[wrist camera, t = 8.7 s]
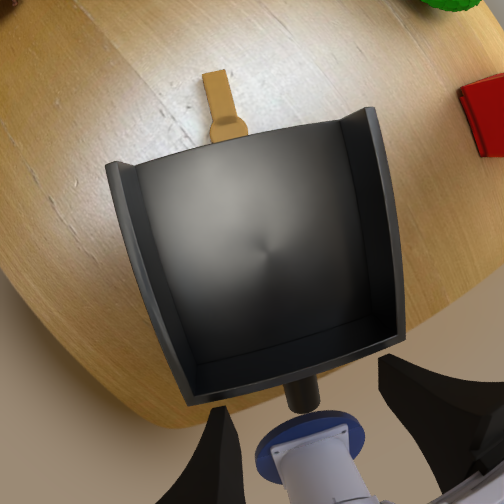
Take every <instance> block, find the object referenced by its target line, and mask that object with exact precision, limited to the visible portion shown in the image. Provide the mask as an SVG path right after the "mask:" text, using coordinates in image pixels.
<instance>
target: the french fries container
mask: <svg viewBox="0 0 504 504" xmlns="http://www.w3.org/2000/svg"><path fill="white" fill-rule="evenodd" d="M460 88H461V90H462V93H463V95H464V96H462V97H459V99H460V101H461V103H462V106H463V108H464V111H465V113H466V116H467V118H468V121H469V123H470V126H471V129H472V132H473V134H474V137H475V140H476V143H477V146H478V149H479V153H480V156H481V157H504V73H500V74H496V75H493V76H490V77H487V78H485V79H482V80H479V81H476V82H473V83H470V84H468V85H465V86H462V87H460Z"/></svg>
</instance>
